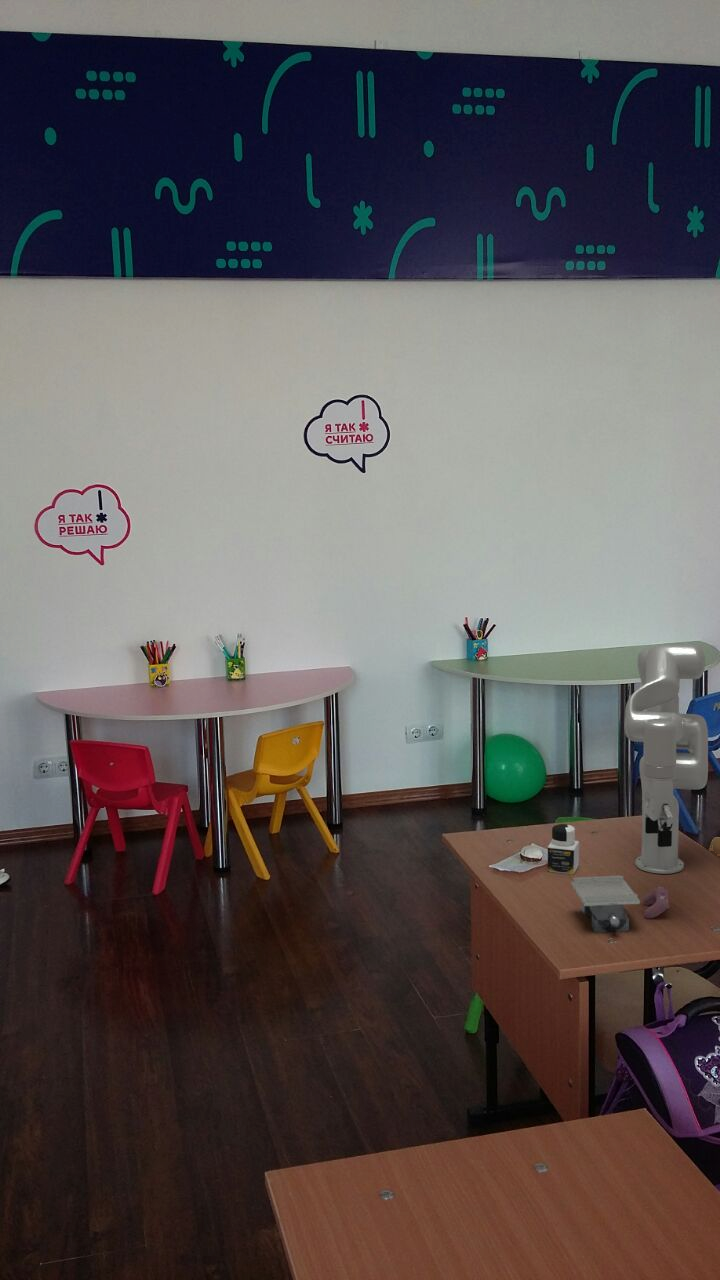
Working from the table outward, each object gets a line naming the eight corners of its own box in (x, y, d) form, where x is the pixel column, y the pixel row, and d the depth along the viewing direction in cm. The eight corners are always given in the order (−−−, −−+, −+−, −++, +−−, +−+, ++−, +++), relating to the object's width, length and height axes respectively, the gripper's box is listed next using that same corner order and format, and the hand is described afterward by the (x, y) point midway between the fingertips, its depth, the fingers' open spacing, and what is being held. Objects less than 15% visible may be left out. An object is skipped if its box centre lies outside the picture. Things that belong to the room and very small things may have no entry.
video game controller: (660, 926, 265) (674, 901, 264) (642, 917, 266) (656, 892, 264) (657, 910, 275) (671, 886, 273) (640, 901, 275) (654, 877, 274)
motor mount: (571, 910, 271) (571, 877, 270) (623, 908, 272) (624, 875, 271) (587, 938, 256) (587, 902, 254) (643, 935, 256) (643, 900, 255)
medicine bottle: (547, 871, 298) (547, 828, 296) (553, 862, 304) (553, 820, 303) (573, 874, 295) (574, 831, 293) (579, 865, 302) (579, 823, 300)
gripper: (633, 761, 273) (632, 828, 275) (654, 781, 256) (653, 852, 258) (663, 760, 273) (662, 827, 276) (687, 780, 256) (685, 851, 259)
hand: (658, 839), depth 267 cm, fingers open, 9 cm apart
